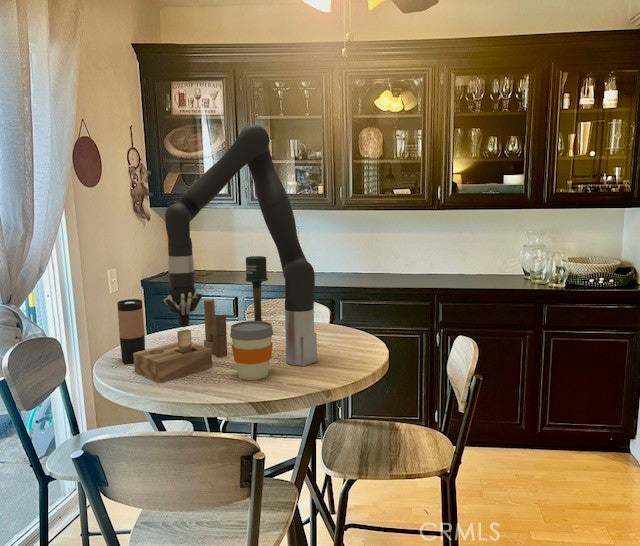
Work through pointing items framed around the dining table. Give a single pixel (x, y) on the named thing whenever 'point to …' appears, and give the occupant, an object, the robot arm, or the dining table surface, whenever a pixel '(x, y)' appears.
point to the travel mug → (131, 328)
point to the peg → (184, 341)
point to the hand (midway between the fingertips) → (184, 326)
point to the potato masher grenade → (256, 280)
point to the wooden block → (215, 330)
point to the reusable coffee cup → (252, 348)
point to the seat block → (171, 362)
